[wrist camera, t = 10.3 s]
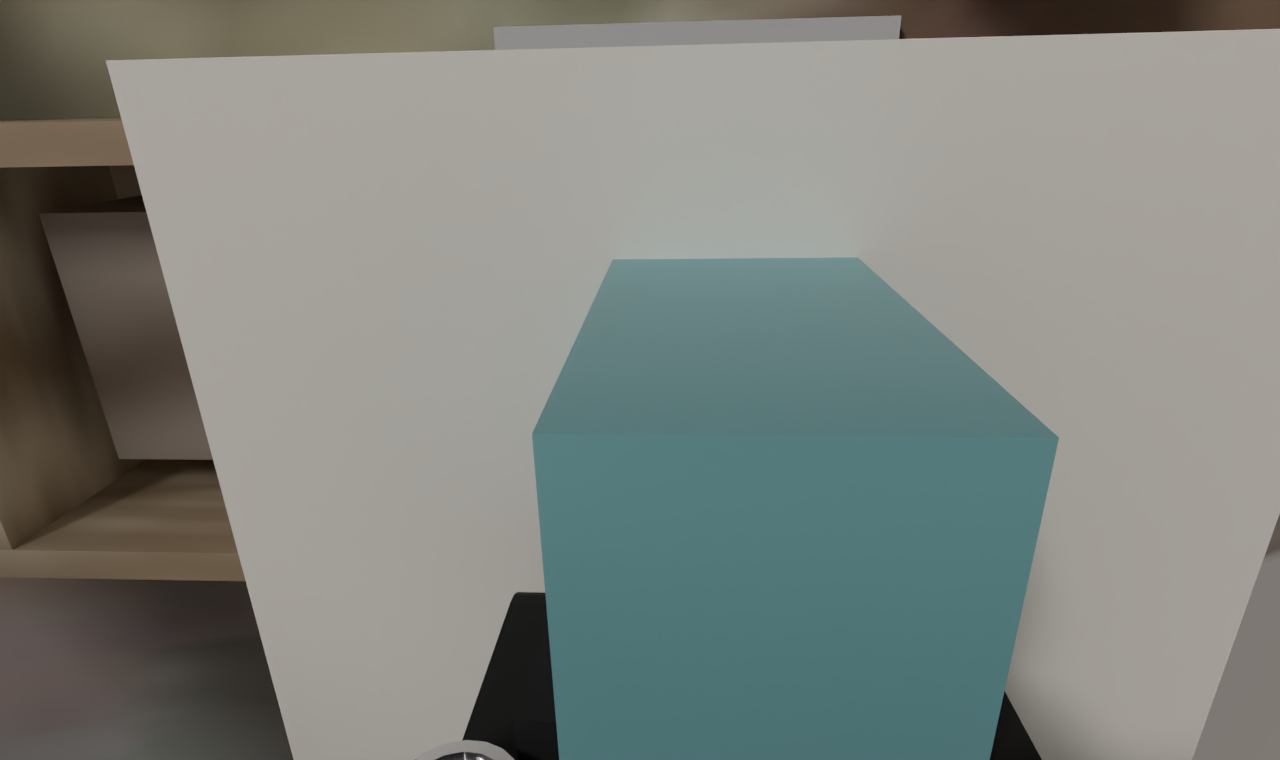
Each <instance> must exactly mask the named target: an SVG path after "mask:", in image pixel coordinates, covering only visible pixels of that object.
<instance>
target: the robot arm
mask: <svg viewBox="0 0 1280 760" xmlns="http://www.w3.org/2000/svg"><path fill="white" fill-rule="evenodd" d="M414 760H559V751H558V739H557V727H556V715H555V703H554V691H553V679H552V667H551V655H550V643H549V631H548V619H547V607H546V596H545V593H539V592H517V593H515V594H514V596H513V598H512V600H511V602H510V605H509V608H508V611H507V614H506V616H505V619H504V622H503V625H502V628H501V631H500V634H499V636H498V639H497V642H496V645H495V648H494V651H493V654H492V656H491V659H490V662H489V665H488V668H487V671H486V674H485V676H484V679H483V682H482V685H481V688H480V691H479V694H478V696H477V699H476V702H475V705H474V708H473V711H472V714H471V716H470V719H469V722H468V725H467V728H466V731H465V734H464V736H463V739H462V741H457V742H451V743H445V744H443V745H441V746H438V747H436V748H433V749H431V750H429V751H426V752H424V753H423V754H421V755H420V756H419V757H417V758H416V759H414ZM990 760H1042V759H1041V757H1040V755H1039V753H1038V752H1037V750H1036V748H1035V746H1034V744H1033V742H1032V741H1031V739H1030V737H1029V735H1028V733H1027V731H1026V729H1025V728H1024V726H1023V724H1022V722H1021V720H1020V718H1019V717H1018V715H1017V713H1016V711H1015V709H1014V707H1013V705H1012V704H1011V702H1010V700H1009V698H1008V696H1007V694H1006V693H1005V691H1004V695H1003V700H1002V705H1001V709H1000V714H999V719H998V723H997V728H996V733H995V737H994V742H993V747H992V751H991V756H990Z"/></svg>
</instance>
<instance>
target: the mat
mask: <svg viewBox="0 0 1280 760" xmlns="http://www.w3.org/2000/svg"><path fill="white" fill-rule="evenodd" d="M900 24H901V16H868V17H833V18H797V19H762V20H726V21H691V22H655V23H620V24H584V25H549V26H513V27H493V28H494V39H495V50H515V49H552V48H589V47H626V46H663V45H700V44H738V43H775V42H812V41H849V40H886V39H899V34H900Z"/></svg>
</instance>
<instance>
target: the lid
mask: <svg viewBox="0 0 1280 760" xmlns="http://www.w3.org/2000/svg"><path fill="white" fill-rule="evenodd" d="M106 63H107V67H108V71H109V75H110V78H111V82H112V86H113V89H114V93H115V97H116V101H117V104H118V108H119V112H120V116H121V119H122V123H123V127H124V130H125V134H126V138H127V142H128V145H129V149H130V153H131V156H132V160H133V164H134V168H135V171H136V175H137V179H138V183H139V186H140V190H141V194H142V197H143V201H144V205H145V209H146V212H147V216H148V220H149V223H150V227H151V231H152V235H153V238H154V242H155V246H156V250H157V253H158V257H159V261H160V264H161V268H162V272H163V276H164V279H165V283H166V287H167V290H168V294H169V298H170V302H171V305H172V309H173V313H174V316H175V320H176V324H177V328H178V331H179V335H180V339H181V343H182V346H183V350H184V354H185V357H186V361H187V365H188V369H189V372H190V376H191V380H192V383H193V387H194V391H195V395H196V398H197V402H198V406H199V410H200V413H201V417H202V421H203V424H204V428H205V432H206V436H207V439H208V443H209V447H210V450H211V454H212V458H213V462H214V465H215V469H216V473H217V477H218V480H219V484H220V488H221V491H222V495H223V499H224V503H225V506H226V510H227V514H228V517H229V521H230V525H231V529H232V532H233V536H234V540H235V544H236V547H237V551H238V555H239V558H240V562H241V566H242V570H243V573H244V577H245V581H246V584H247V588H248V592H249V596H250V599H251V603H252V607H253V611H254V614H255V618H256V622H257V625H258V629H259V633H260V637H261V640H262V644H263V648H264V651H265V655H266V659H267V663H268V666H269V670H270V674H271V678H272V681H273V685H274V689H275V692H276V696H277V700H278V704H279V707H280V711H281V715H282V718H283V722H284V726H285V730H286V733H287V737H288V741H289V745H290V748H291V752H292V756H293V759H294V760H414V759H416V758H417V757H419V756H420V755H421V754H423V753H424V752H426V751H429V750H431V749H433V748H436V747H438V746H441V745H443V744H445V743H451V742H457V741H462V739H463V736H464V734H465V731H466V728H467V725H468V722H469V719H470V716H471V714H472V711H473V708H474V705H475V702H476V699H477V696H478V694H479V691H480V688H481V685H482V682H483V679H484V676H485V674H486V671H487V668H488V665H489V662H490V659H491V656H492V654H493V651H494V648H495V645H496V642H497V639H498V636H499V634H500V631H501V628H502V625H503V622H504V619H505V616H506V614H507V611H508V608H509V605H510V602H511V600H512V598H513V596H514V594H515V593H517V592H539V593H545V596H546V607H547V619H548V631H549V643H550V655H551V667H552V679H553V691H554V703H555V715H556V727H557V739H558V751H559V760H990V756H991V751H992V747H993V742H994V737H995V733H996V728H997V723H998V719H999V714H1000V709H1001V705H1002V700H1003V695H1004V691H1005V693H1006V694H1007V696H1008V698H1009V700H1010V702H1011V704H1012V705H1013V707H1014V709H1015V711H1016V713H1017V715H1018V717H1019V718H1020V720H1021V722H1022V724H1023V726H1024V728H1025V729H1026V731H1027V733H1028V735H1029V737H1030V739H1031V741H1032V742H1033V744H1034V746H1035V748H1036V750H1037V752H1038V753H1039V755H1040V757H1041V759H1042V760H1192V758H1193V755H1194V752H1195V750H1196V746H1197V744H1198V741H1199V738H1200V735H1201V732H1202V730H1203V727H1204V724H1205V721H1206V719H1207V716H1208V713H1209V710H1210V707H1211V705H1212V702H1213V699H1214V696H1215V693H1216V691H1217V688H1218V685H1219V682H1220V679H1221V677H1222V674H1223V671H1224V668H1225V665H1226V663H1227V660H1228V657H1229V654H1230V651H1231V649H1232V646H1233V643H1234V640H1235V637H1236V635H1237V632H1238V629H1239V626H1240V623H1241V620H1242V618H1243V615H1244V612H1245V609H1246V606H1247V604H1248V601H1249V598H1250V595H1251V592H1252V589H1253V587H1254V584H1255V581H1256V578H1257V576H1258V573H1259V569H1260V567H1261V564H1262V562H1263V559H1264V556H1265V553H1266V550H1267V548H1268V545H1269V542H1270V539H1271V536H1272V533H1273V531H1274V528H1275V525H1276V522H1277V519H1278V517H1279V514H1280V29H1256V30H1219V31H1182V32H1145V33H1108V34H1071V35H1034V36H997V37H960V38H923V39H886V40H849V41H812V42H775V43H738V44H700V45H663V46H626V47H589V48H552V49H515V50H478V51H441V52H404V53H367V54H330V55H293V56H256V57H219V58H182V59H145V60H108V61H106Z"/></svg>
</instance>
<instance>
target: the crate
mask: <svg viewBox="0 0 1280 760" xmlns="http://www.w3.org/2000/svg"><path fill="white" fill-rule="evenodd" d="M0 577H13V578H75V579H138V580H200V581H245V577H244V573H243V570H242V566H241V562H240V558H239V555H238V551H237V547H236V544H235V540H234V536H233V532H232V529H231V525H230V521H229V517H228V514H227V510H226V506H225V503H224V499H223V495H222V491H221V488H220V484H219V480H218V477H217V473H216V469H215V465H214V462H213V458H212V454H211V450H210V447H209V443H208V439H207V436H206V432H205V428H204V424H203V421H202V417H201V413H200V410H199V406H198V402H197V398H196V395H195V391H194V387H193V383H192V380H191V376H190V372H189V369H188V365H187V361H186V357H185V354H184V350H183V346H182V343H181V339H180V335H179V331H178V328H177V324H176V320H175V316H174V313H173V309H172V305H171V302H170V298H169V294H168V290H167V287H166V283H165V279H164V276H163V272H162V268H161V264H160V261H159V257H158V253H157V250H156V246H155V242H154V238H153V235H152V231H151V227H150V223H149V220H148V216H147V212H146V209H145V205H144V201H143V197H142V194H141V190H140V186H139V183H138V179H137V175H136V171H135V168H134V164H133V160H132V156H131V153H130V149H129V145H128V142H127V138H126V134H125V130H124V127H123V123H122V119H121V118H81V119H49V120H18V121H0Z"/></svg>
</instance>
